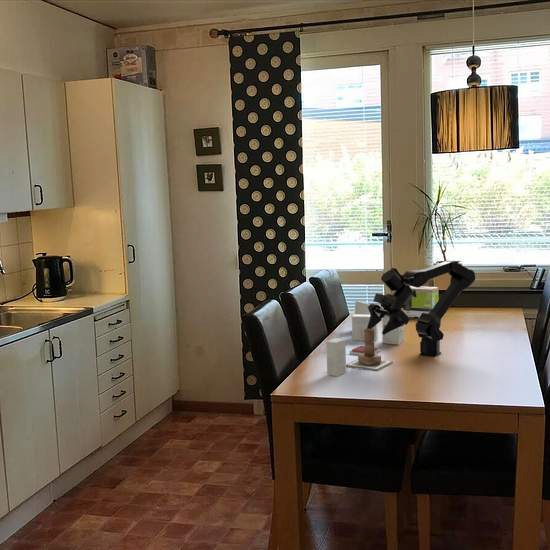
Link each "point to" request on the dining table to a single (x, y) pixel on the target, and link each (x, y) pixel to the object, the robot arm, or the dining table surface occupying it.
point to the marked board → (373, 367)
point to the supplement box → (393, 333)
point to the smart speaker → (361, 308)
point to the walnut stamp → (369, 350)
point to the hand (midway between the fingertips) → (375, 331)
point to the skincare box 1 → (336, 357)
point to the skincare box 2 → (361, 327)
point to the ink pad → (362, 350)
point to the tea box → (421, 301)
